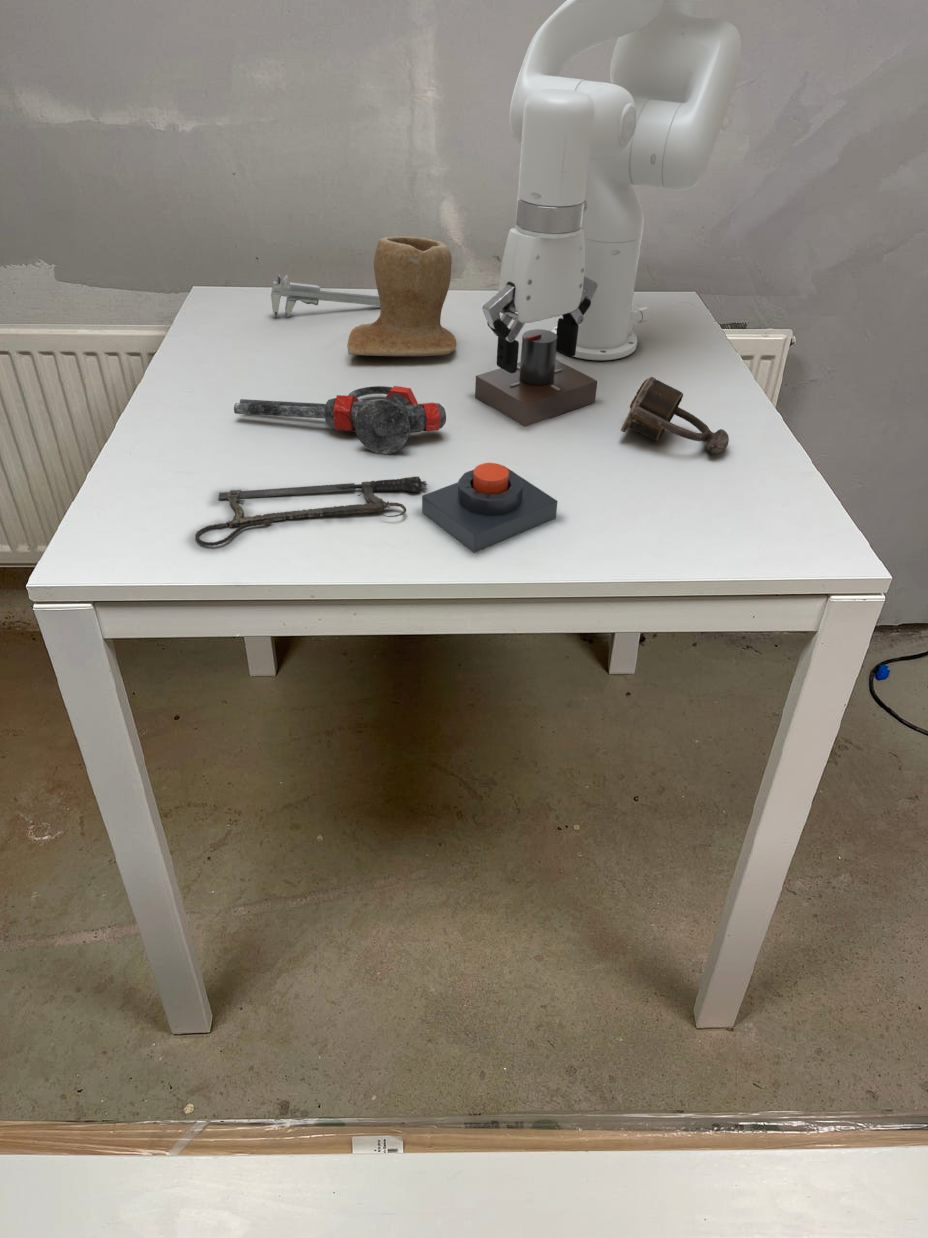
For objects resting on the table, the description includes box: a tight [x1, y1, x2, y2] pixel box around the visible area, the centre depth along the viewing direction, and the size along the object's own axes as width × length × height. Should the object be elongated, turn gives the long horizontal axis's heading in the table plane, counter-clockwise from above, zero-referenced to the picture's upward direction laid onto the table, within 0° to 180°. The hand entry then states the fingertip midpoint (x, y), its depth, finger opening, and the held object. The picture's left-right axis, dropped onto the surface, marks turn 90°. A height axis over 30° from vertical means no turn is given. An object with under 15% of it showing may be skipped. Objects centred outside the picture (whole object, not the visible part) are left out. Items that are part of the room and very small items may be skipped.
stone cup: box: [346, 235, 458, 357], centre depth 123 cm, size 15×12×15 cm
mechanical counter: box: [620, 376, 730, 455], centre depth 106 cm, size 7×13×10 cm
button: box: [473, 462, 509, 494], centre depth 92 cm, size 4×4×2 cm
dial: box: [519, 328, 558, 385], centre depth 112 cm, size 4×4×6 cm
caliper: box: [270, 273, 380, 319], centre depth 136 cm, size 20×1×6 cm, turn 109°
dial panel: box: [474, 359, 598, 427], centre depth 115 cm, size 12×10×3 cm
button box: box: [421, 465, 558, 554], centre depth 94 cm, size 11×9×4 cm
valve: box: [233, 385, 447, 455], centre depth 109 cm, size 6×26×15 cm
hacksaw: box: [194, 476, 428, 547], centre depth 94 cm, size 24×10×2 cm, turn 97°
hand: (536, 360), depth 112 cm, fingers open, 9 cm apart
